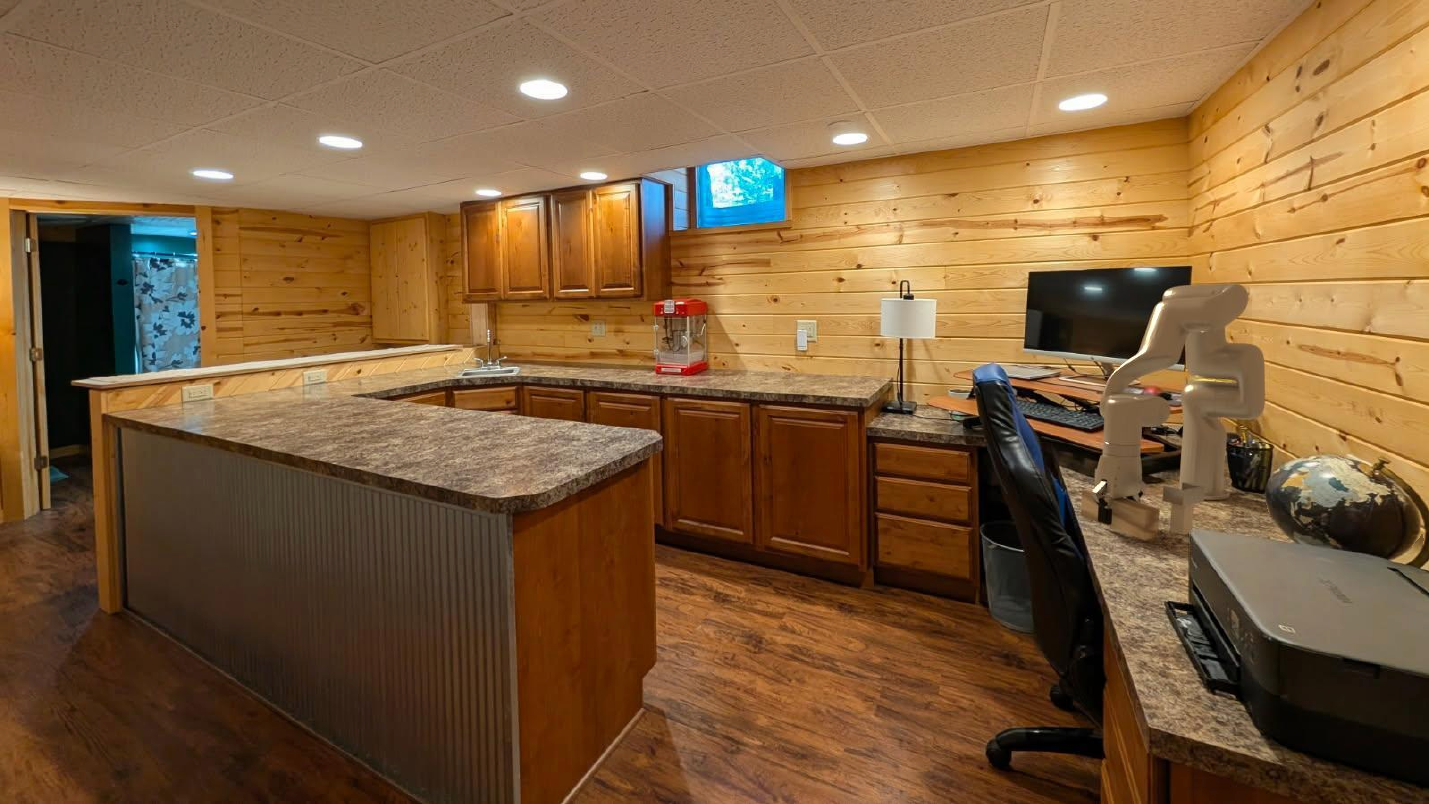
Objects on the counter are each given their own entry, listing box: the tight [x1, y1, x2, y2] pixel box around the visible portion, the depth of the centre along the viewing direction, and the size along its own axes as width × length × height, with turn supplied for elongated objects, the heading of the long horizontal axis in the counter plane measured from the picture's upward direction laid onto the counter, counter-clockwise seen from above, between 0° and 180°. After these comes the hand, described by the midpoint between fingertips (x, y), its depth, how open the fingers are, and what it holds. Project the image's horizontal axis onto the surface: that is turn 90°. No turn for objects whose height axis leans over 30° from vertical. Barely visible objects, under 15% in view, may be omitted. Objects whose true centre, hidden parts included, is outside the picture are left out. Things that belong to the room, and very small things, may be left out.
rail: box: [1080, 487, 1161, 541], centre depth 149 cm, size 4×18×7 cm, turn 13°
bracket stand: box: [1094, 468, 1205, 536], centre depth 151 cm, size 7×22×11 cm, turn 19°
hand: (1117, 520), depth 149 cm, fingers open, 7 cm apart
